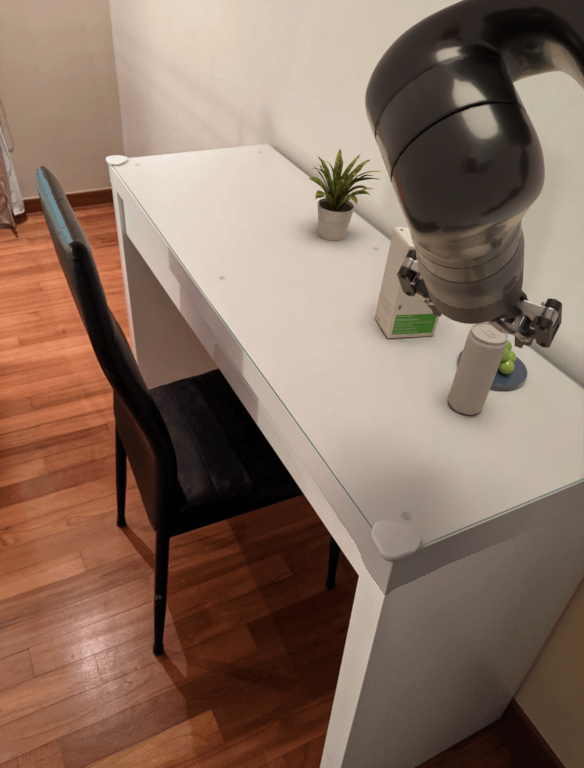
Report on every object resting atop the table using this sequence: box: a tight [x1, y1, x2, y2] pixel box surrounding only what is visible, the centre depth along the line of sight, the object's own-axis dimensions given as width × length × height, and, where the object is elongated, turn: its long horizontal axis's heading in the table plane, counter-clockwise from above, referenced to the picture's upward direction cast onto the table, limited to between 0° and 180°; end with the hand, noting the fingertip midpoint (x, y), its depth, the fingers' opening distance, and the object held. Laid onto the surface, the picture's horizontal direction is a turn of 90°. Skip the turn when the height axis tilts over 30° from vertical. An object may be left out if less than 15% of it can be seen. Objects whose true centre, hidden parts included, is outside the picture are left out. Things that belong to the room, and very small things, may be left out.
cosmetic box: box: [374, 226, 440, 339], centre depth 92 cm, size 8×7×16 cm
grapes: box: [456, 340, 528, 392], centre depth 88 cm, size 10×10×6 cm
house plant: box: [308, 148, 383, 242], centre depth 114 cm, size 14×14×16 cm
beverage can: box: [447, 322, 509, 416], centre depth 79 cm, size 5×5×12 cm
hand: (480, 322), depth 61 cm, fingers open, 8 cm apart
